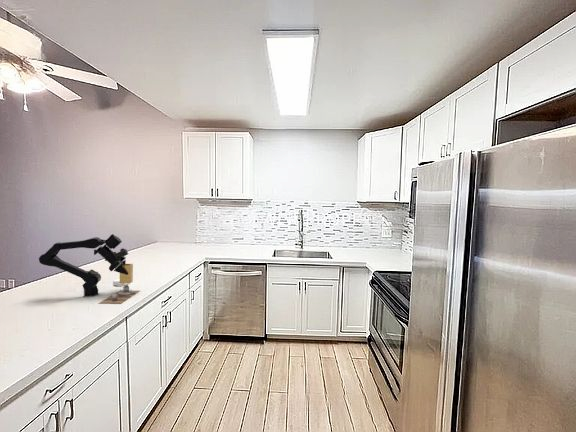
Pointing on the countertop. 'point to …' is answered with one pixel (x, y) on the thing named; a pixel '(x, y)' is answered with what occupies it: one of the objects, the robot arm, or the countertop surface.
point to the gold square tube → (128, 277)
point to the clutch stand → (120, 296)
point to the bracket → (117, 282)
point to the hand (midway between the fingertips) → (128, 273)
